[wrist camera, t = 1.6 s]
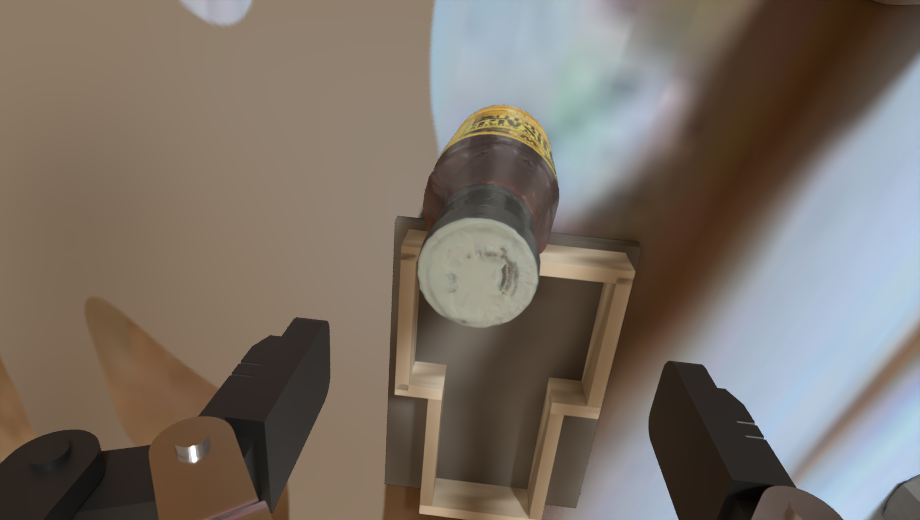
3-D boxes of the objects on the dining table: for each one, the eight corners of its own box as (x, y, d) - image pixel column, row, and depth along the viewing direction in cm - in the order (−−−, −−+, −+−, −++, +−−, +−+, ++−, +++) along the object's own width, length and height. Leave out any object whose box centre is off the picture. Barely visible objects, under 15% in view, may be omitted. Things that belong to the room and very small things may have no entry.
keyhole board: (638, 242, 37) (653, 266, 33) (574, 498, 47) (580, 538, 44) (397, 215, 37) (386, 236, 34) (386, 475, 48) (377, 512, 44)
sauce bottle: (567, 135, 34) (636, 262, 16) (512, 211, 37) (520, 395, 19) (482, 78, 33) (456, 146, 15) (431, 160, 36) (357, 303, 18)
